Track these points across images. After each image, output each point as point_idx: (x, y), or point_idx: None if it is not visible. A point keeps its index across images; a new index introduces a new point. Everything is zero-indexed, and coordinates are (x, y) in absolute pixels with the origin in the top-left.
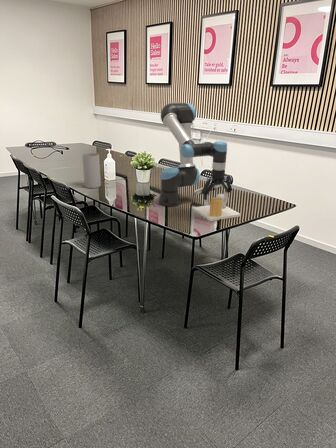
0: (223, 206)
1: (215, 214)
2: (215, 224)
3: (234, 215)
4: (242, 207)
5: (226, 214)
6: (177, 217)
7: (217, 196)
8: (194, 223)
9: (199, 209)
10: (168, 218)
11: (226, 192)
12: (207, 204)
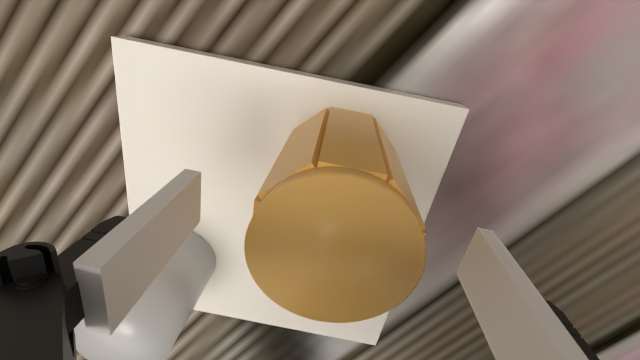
0: None
1: (381, 131)
2: (485, 8)
3: (187, 50)
4: (9, 181)
5: (248, 108)
6: (574, 295)
7: (171, 347)
8: (603, 143)
9: None
10: (637, 313)
11: (104, 285)
12: (492, 237)
